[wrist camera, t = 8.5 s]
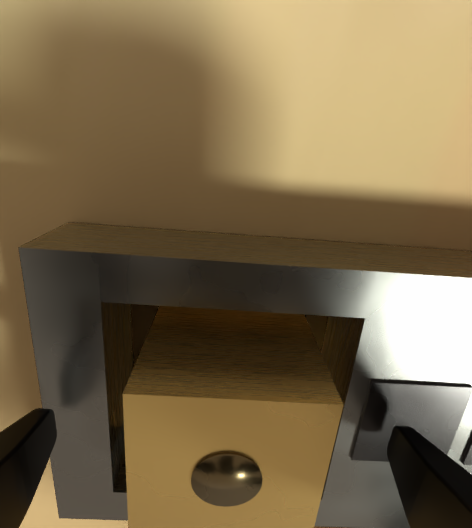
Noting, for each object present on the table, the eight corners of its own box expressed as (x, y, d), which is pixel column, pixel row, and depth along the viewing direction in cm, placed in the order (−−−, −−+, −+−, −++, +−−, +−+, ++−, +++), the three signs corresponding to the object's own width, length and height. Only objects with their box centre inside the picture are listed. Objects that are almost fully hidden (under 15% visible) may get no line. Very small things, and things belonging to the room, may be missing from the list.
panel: (582, 258, 11) (688, 293, 8) (487, 466, 14) (543, 536, 11) (68, 222, 10) (15, 248, 7) (89, 449, 13) (57, 521, 10)
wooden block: (300, 304, 11) (344, 407, 7) (282, 411, 13) (309, 549, 8) (163, 296, 11) (121, 396, 7) (162, 405, 12) (128, 544, 8)
